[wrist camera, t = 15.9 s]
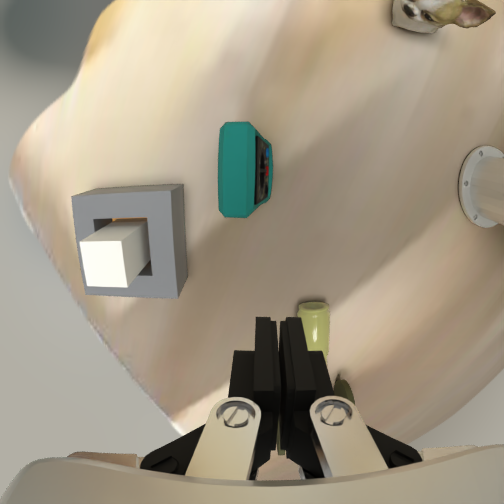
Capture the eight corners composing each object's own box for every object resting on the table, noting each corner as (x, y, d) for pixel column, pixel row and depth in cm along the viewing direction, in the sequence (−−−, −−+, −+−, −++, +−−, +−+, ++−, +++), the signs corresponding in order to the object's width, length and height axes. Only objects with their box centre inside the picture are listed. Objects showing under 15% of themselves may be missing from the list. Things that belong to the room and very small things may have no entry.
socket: (183, 184, 37) (170, 190, 31) (187, 276, 41) (178, 298, 35) (95, 188, 37) (71, 196, 31) (105, 274, 40) (85, 294, 34)
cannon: (267, 299, 42) (274, 348, 31) (352, 293, 42) (382, 337, 31) (271, 421, 50) (275, 472, 39) (336, 414, 50) (350, 462, 39)
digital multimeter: (248, 201, 38) (272, 202, 37) (215, 218, 23) (254, 219, 23) (248, 140, 36) (273, 140, 35) (216, 120, 22) (255, 119, 21)
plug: (151, 217, 36) (121, 240, 27) (154, 254, 38) (127, 287, 28) (117, 218, 36) (79, 241, 27) (121, 254, 38) (87, 286, 28)
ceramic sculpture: (359, -1, 29) (405, -54, 15) (398, -18, 28) (449, -63, 13) (408, 60, 32) (474, 31, 18) (443, 39, 30) (508, 12, 16)
